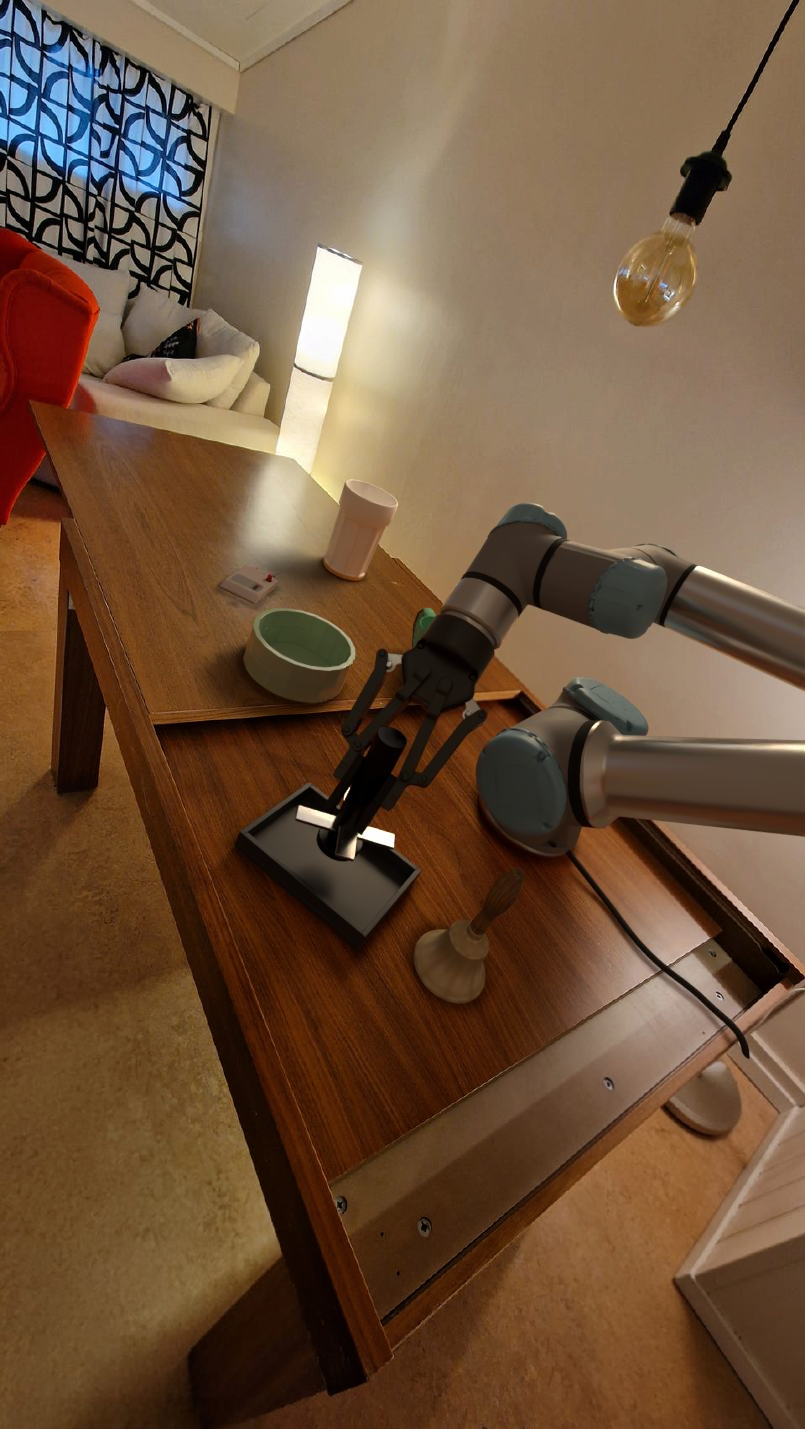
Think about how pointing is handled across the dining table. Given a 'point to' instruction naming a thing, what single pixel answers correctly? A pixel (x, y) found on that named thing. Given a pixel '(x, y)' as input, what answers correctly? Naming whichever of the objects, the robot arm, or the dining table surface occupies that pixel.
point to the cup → (358, 528)
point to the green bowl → (298, 655)
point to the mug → (421, 623)
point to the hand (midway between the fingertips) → (342, 822)
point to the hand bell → (464, 946)
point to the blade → (358, 802)
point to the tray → (326, 869)
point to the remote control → (250, 583)
